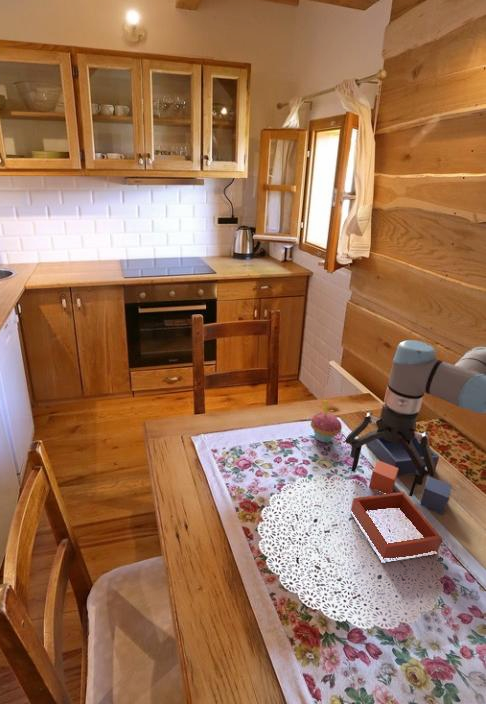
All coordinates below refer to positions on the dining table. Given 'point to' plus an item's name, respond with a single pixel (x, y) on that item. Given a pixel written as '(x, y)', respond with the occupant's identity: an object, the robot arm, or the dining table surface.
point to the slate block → (435, 495)
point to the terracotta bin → (411, 512)
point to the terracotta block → (383, 477)
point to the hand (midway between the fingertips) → (381, 480)
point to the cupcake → (325, 425)
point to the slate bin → (397, 454)
